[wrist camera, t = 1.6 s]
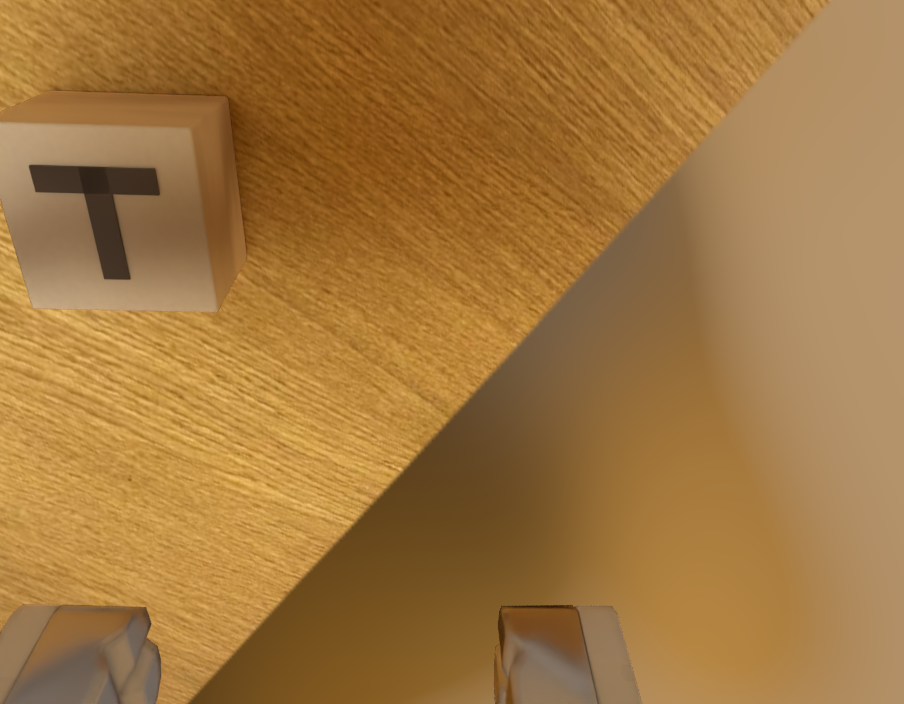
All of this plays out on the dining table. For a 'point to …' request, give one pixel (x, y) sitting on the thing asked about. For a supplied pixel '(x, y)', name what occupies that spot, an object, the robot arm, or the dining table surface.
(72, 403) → the dining table surface
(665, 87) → the dining table surface
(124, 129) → the letter block
